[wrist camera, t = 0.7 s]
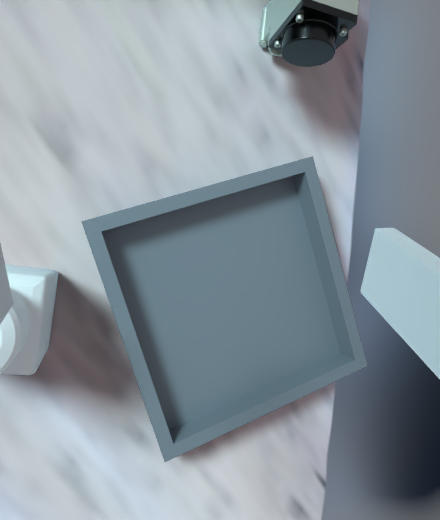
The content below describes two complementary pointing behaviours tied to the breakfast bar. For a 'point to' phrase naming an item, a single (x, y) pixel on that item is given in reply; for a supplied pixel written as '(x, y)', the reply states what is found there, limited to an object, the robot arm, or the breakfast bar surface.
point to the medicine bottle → (27, 319)
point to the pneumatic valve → (307, 29)
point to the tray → (228, 301)
